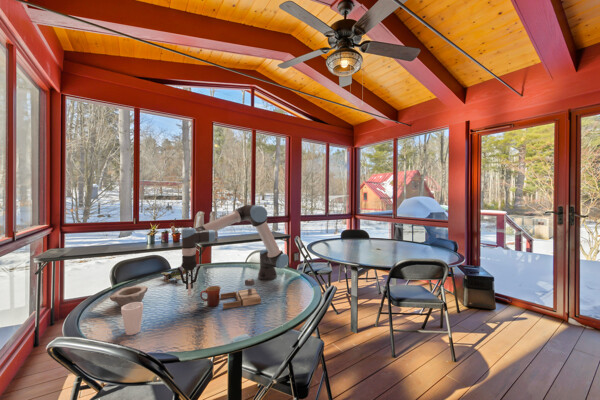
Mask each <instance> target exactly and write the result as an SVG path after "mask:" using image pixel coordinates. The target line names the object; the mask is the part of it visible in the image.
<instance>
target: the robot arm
mask: <svg viewBox="0 0 600 400" xmlns="http://www.w3.org/2000/svg"><path fill="white" fill-rule="evenodd" d="M244 221H247V222H250V223H251V225H252V227H253V228H255V229H256V231H257V233H258V235H259V237H260V239H261V241H262V243H263V245H264V247H265V248H261V249H260V251H259V270H258V273H257V279H259V280H262V281H270V280H274V279H277V277H278V274H277V270H276V269H279V270H280V269H281V270H282V269H285V267H286V266H287V265H288V263H289V256H288V254H287V253H284V251H283V249H282V248H281V247H279V245H278V243H277V241H276V240H275V237H274V235H273V233H272V231H271V229H270V226H269V224H268V222H267V221H268V210H267V209H266V207H264V206H263V205H260V204H245V205H242V206H240V207H237V208H236V209H234V210H232V212H230V213H228V214H225V215H223V216H221V217H219V218H216V219H214V220H212V221H210V222H207V223H205V224H202V225H200V226H198V227H189V228H188V227H187V228H183V229H181V255H182V257H181V258H182V259H181V260H182V261H181V265H180V266H178V267H177V270H178V271H179V272H180V275H181V279H182V280H181V279H180V280H181V282H182V284H185V290H187V292H188V293H187V295H188V296H191V295H192V289H194V283H196V282H197V279H198V274H199V271H200V269H201V268H202V266H201V264H198V263H197V255H196V253H197V245H198V244H205V243H210V242H214V241H216V236H217V235H216V232H218V231H220V230H222V229H224V228H227V227H228V226H230V225H231V226H232V225H233V224H235V223H240V222H244ZM183 268H184V270H186V273H185V276H184V275H183V272H182V269H183ZM195 268H196V271H195V275H194V273H193V272H194V271H193V270H194V269H195ZM189 270H190V271H191V272H190V275H191V276H190V282H189V273H188V271H189ZM184 277H186V280H185V279H184Z"/></svg>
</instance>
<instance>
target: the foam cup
mask: <svg viewBox="0 0 600 400" xmlns="http://www.w3.org/2000/svg"><path fill="white" fill-rule="evenodd" d="M143 312H144V303H143V301H141V302H134V303H129V304H126V305H124V306H122V307H120V313H121V316H122V320H123V322H122V323H123V326H124V332H125V335H127V336H133V335H135V334H138V333H140V331H141V329H142V323H143V322H142V321H143V320H142V319H143Z"/></svg>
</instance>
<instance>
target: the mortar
mask: <svg viewBox="0 0 600 400" xmlns="http://www.w3.org/2000/svg"><path fill="white" fill-rule="evenodd" d="M148 288H149V287H148V286H146V285H145V286H143V285H142V286H141V285H136V286H130V287H129V286H127V287H123V288H121V289H119V290H117V291H116V292H114V293H113V294H112V295H110V297H109V300H110V301H112V302H114V303H117V305H118V306H119V307H120V308H121V307H122V306H124V305H126V304H129V303H134V302H143V299H144V297H145V294H146V293H147V292H148Z"/></svg>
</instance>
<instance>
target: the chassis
mask: <svg viewBox="0 0 600 400" xmlns="http://www.w3.org/2000/svg"><path fill="white" fill-rule="evenodd" d="M229 298H235V299H236V301H229V302H223V303H222V308H223V310H225V309H232V308H237V307H238V308H239V307H242V306H243V307H245V306H250V305H251V306H253V305H257V304H261V303H262V300H261V299H262V298H261V296H260V295H259V293H258V292H257V290H256V289H255V288H247V289H242V290H238V291H231V292H225V293H220V300H223V299H229Z"/></svg>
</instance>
